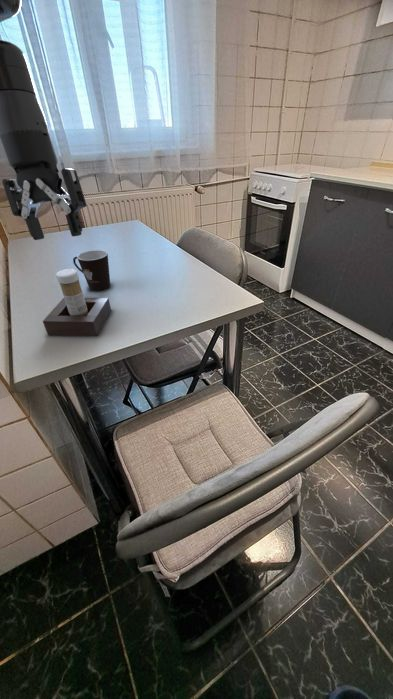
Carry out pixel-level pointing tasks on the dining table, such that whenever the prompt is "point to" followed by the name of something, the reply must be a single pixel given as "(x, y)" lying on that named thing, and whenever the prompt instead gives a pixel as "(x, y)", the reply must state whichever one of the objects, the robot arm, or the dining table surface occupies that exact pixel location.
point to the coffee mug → (95, 269)
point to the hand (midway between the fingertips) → (57, 237)
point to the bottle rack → (78, 319)
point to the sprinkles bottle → (72, 292)
